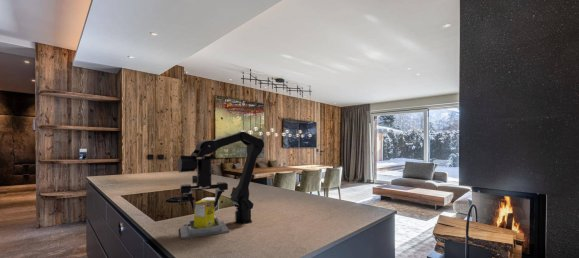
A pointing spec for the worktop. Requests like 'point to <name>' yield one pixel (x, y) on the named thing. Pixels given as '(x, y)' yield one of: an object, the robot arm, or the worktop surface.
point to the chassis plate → (202, 229)
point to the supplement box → (204, 213)
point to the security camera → (213, 200)
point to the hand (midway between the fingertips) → (204, 208)
